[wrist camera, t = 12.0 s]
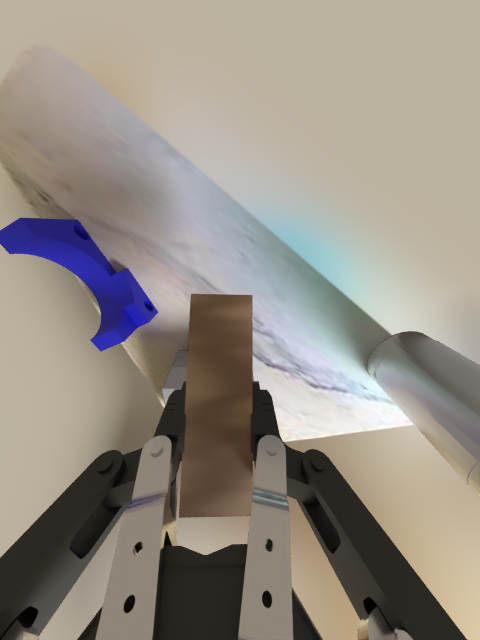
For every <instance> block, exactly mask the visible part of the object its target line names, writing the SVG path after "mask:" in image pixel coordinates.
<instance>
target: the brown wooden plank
mask: <svg viewBox="0 0 480 640" xmlns="http://www.w3.org/2000/svg"><path fill="white" fill-rule="evenodd" d="M185 414H186V426H185V446H184V453H182V472H181V491H180V509H179V517H180V518H181V517H223V516H224V517H227V516H250V514H251V505H252V495H253V487H252V485H253V478H252V477H253V474H252V473H253V469H252V467H253V463H252V461H253V453H251V414H252V295H217V294H191V304H190V323H189V341H188V360H187V378H186V397H185Z"/></svg>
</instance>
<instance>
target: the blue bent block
mask: <svg viewBox="0 0 480 640" xmlns="http://www.w3.org/2000/svg"><path fill="white" fill-rule="evenodd" d="M0 244H1V245H2V246H3V247H4V248H5V249H6V251H8V252H9V254H30V255H36V256H39V257H43V258H46V259H49V260H51V261H54V262H56V263H58V264H60V265H62V266H63V267H65V268H67V269H68V270H70V271H71V272H73V273H74V274H76V275H77V276H78V277H79V278H80V279H81V280H82V281H83V282H84V283H85V284H86V285H87V286H88V287H89V288H90V290H91V291H92V292H93V294H94V296H95V297H96V299H97V301H98V304H99V307H100V310H101V325H100V328H99V330H98V332H97V334H96V335H95V336H94V337H93V338H92V339H91V341H92V342H93V344H95V346H96V347H97V348H98V349H99V350H100V351H103V350H105V349H107V348H110V347H112V346H114V345H117V344H119V343H121V342H124V341H125V340H126V339H127V338H128V337H129V336H130V335H131V334H132V333H133V332H134V331H135V330H136V329H137V328H138V327H140V326H142V325H144V324H146V323H149V322H150V321H151V320H152V319H153V317H154V316H155V315H156V314H157V313H158V311H157V310H156V308H155V307H154V305H153V304H152V302H151V301H150V300H149V298H148V297H147V295H146V294H145V292H144V291H143V289H142V288H141V287H140V285H139V284H138V282H137V281H136V279H135V278H134V277H133V275H132V274H131V272H130V271H129V269H128V268H127V269H125V270H122V271H120V272H118V273H116V271H115V270H114V269H113V267H112V266H111V265H110V263H109V262H108V260H107V259H106V258H105V256H104V255H103V254H102V252H101V251H100V250H99V248H98V247H97V245H96V244H95V243H94V241H93V240H92V239H91V237H90V236H89V234H88V233H87V232H86V230H85V229H84V228H83V226H82V225H81V223H80V222H79V221H78V220H63V219H38V218H19V219H18V220H16V221H15V222H13V223H11V224H10V225H9V226H7V227H5V228H4V229H2V230H0Z"/></svg>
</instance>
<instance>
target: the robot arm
mask: <svg viewBox="0 0 480 640" xmlns="http://www.w3.org/2000/svg"><path fill="white" fill-rule="evenodd" d="M367 370H368V373H369V374H370V376H371V377H372V378H373V379H374V380H375V381H376V383H377V384H378V385H379V386H380V387H381V388H382V389H383V390H384V391H385V393H386V394H387V395H388V396H389V397H390V398H391V399H392V401H393V402H394V403H395V404H396V405H397V406H398V407H399V408H400V409H401V411H402V412H403V413H404V414H405V415H406V416H407V417H408V418H409V420H410V421H411V422H412V423H413V424H414V425H415V426H416V427H417V428H418V430H419V431H420V432H421V433H422V434H423V435H424V436H425V437H426V438H427V439H428V441H429V442H430V443H431V444H432V445H433V446H434V447H435V449H436V450H437V451H438V452H439V453H440V454H441V455H442V456H443V457H444V459H445V460H446V461H447V462H448V463H449V464H450V465H451V466H452V467H453V469H454V470H455V471H456V472H457V473H458V474H459V475H460V476H461V477H462V479H463V480H464V481H465V482H466V483H467V484H468V485H469V486H470V487H471V489H472V490H473V491H474V492H475V493H476V494H477V495H478V496H479V497H480V365H479V364H477V363H475V362H474V361H472V360H470V359H468V358H466V357H464V356H463V355H461V354H460V353H458V352H456V351H454V350H452V349H451V348H449V347H447V346H446V345H444V344H442V343H440V342H439V341H435V340H433V339H431V338H430V337H428V336H426V335H424V334H423V333H420V332H415V331H407V332H401V333H398V334H395V335H393V336H392V337H390V338H388V339H386V340H385V341H383V342H382V343H380V344H379V345H378V346H377V347H376V348H375V349H374V350H373V352H372V353H371V355H370V357H369V359H368V362H367ZM185 397H186V381H184V382H183V385H182V388H181V389H175V390H174V391H173V392H172V393H171V395H170V396H169V398H168V401H167V403H166V406H165V408H164V411H163V414H162V416H161V419H160V422H159V424H158V427H157V429H156V432H155V435H154V436H153V438H152V439H151V440H149V441H148V442H147V443H146V444H145V446H144V447H143V448H141V449H139V450H136V451H133V452H130V453H127V454H125V455H122V454H121V452H119V451H117V450H111V451H108V452H105V453H103V454H101V455H100V456H99V457H98V458H96V459H95V460H94V462H92V463H91V464H90V465H89V466H88V467H87V469H86V470H85V471H84V472H83V473H82V474H81V475H80V476H79V477H78V478H77V479H76V480H75V481H74V482H73V483H72V484H71V485H70V486H69V487H68V488H67V489H66V490H65V492H63V493H62V495H60V497H59V498H58V499H57V500H56V501H55V502H54V503H53V504H52V505H51V506H50V507H49V508H48V509H47V510H46V511H45V512H44V513H43V514H42V515H41V516H40V517H39V518H38V520H36V521H35V523H33V525H32V526H31V527H30V528H29V529H28V530H27V531H26V532H25V533H24V534H23V535H22V536H21V537H20V538H19V539H18V540H17V541H16V542H15V543H14V544H13V545H12V546H11V547H10V549H8V550H7V551H6V553H5V554H4V555H3V556H2V557H1V558H0V640H39V635H40V633H41V632H42V631H43V629H44V628H45V626H46V625H47V623H48V622H49V620H50V619H51V618H52V616H53V615H54V613H55V612H56V610H57V609H58V607H59V606H60V604H61V603H62V602H63V600H64V599H65V597H66V596H67V594H68V593H69V591H70V590H71V588H72V587H73V585H74V584H75V583H76V581H77V580H78V578H79V577H80V575H81V574H82V572H83V571H84V569H85V568H86V566H87V565H88V564H89V562H90V560H91V559H92V558H93V556H94V555H95V553H96V552H97V550H98V549H99V548H100V546H101V545H102V543H103V542H104V540H105V539H106V537H107V536H108V534H109V533H110V531H111V530H112V529H113V527H114V525H115V524H116V523H117V521H118V520H119V518H120V517H121V515H122V514H123V512H124V515H123V519H122V523H121V528H120V532H119V537H118V541H117V545H116V550H115V555H114V559H113V563H112V568H111V572H110V577H109V582H108V586H107V590H106V595H105V599H104V603H103V606H102V607H101V609H100V610H99V611H98V613H97V614H96V615H95V617H94V618H93V620H92V621H91V622H90V623H89V625H88V626H87V627H86V629H85V630H84V631H83V633H82V634H81V635H80V637H79V638H78V639H77V640H323V639H322V637H321V636H320V634H319V632H318V631H317V629H316V627H315V626H314V624H313V622H312V620H311V619H310V617H309V615H308V614H307V612H306V610H305V608H304V607H303V605H302V603H301V602H300V600H299V598H298V597H297V595H296V593H295V592H294V590H293V588H292V584H291V551H290V518H289V504H288V501H287V496H289V497H292V498H294V499H296V500H297V502H298V503H299V505H300V507H301V509H302V511H303V513H304V515H305V517H306V519H307V520H308V522H309V524H310V526H311V528H312V530H313V532H314V534H315V535H316V537H317V539H318V541H319V543H320V545H321V547H322V549H323V551H324V552H325V554H326V556H327V558H328V560H329V562H330V564H331V565H332V567H333V569H334V571H335V573H336V575H337V577H338V579H339V581H340V582H341V584H342V586H343V588H344V590H345V592H346V594H347V596H348V597H349V599H350V601H351V603H352V605H353V607H354V609H355V611H356V612H357V614H358V616H359V618H360V623H359V626H358V640H467V639H466V638H465V636H464V635H463V634H462V632H461V631H460V630H459V629H458V627H457V626H456V625H455V623H454V622H453V621H452V619H451V618H450V617H449V615H448V614H447V613H446V612H445V610H444V609H443V608H442V606H441V605H440V604H439V602H438V601H437V600H436V598H435V597H434V596H433V595H432V593H431V592H430V591H429V589H428V588H427V587H426V585H425V584H424V583H423V581H422V580H421V579H420V577H419V576H418V575H417V573H416V572H415V571H414V570H413V568H412V567H411V566H410V564H409V563H408V562H407V560H406V559H405V558H404V556H403V555H402V554H401V552H400V551H399V550H398V549H397V547H396V546H395V545H394V543H393V542H392V541H391V539H390V538H389V537H388V535H387V534H386V533H385V531H384V530H383V529H382V528H381V526H380V525H379V524H378V523H377V521H376V520H375V518H374V517H373V516H372V514H371V513H370V512H369V511H368V509H367V508H366V507H365V505H364V504H363V503H362V501H361V500H360V499H359V497H358V496H357V495H356V494H355V492H354V491H353V490H352V489H351V487H350V486H349V484H348V483H347V482H346V481H345V479H344V478H343V476H342V475H341V474H340V472H339V471H338V470H337V469H336V467H335V466H334V465H333V463H332V462H331V461H330V459H329V458H328V457H327V456H326V455H325V454H324V453H322V452H321V451H318V450H315V449H311V450H308V451H306V452H305V453H302V452H300V451H296V450H294V449H292V448H290V447H288V446H287V445H286V444H285V443H284V442H283V441H282V439H281V437H280V434H279V430H278V425H277V420H276V415H275V411H274V406H273V401H272V397H271V395H270V393H269V392H268V391H267V390H260V386H259V381H252V414H251V453H253V461H254V462H255V477H254V486H253V495H252V505H251V514H250V524H249V533H248V542H247V544H236V545H230V546H228V547H225V548H223V549H221V550H218V551H216V552H213V553H211V554H209V555H202V554H200V553H197V552H195V551H192V550H190V549H187V548H185V547H182V546H177V530H176V506H177V484H178V469H179V464H180V461H182V453H184V446H185V426H186V414H185Z"/></svg>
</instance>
